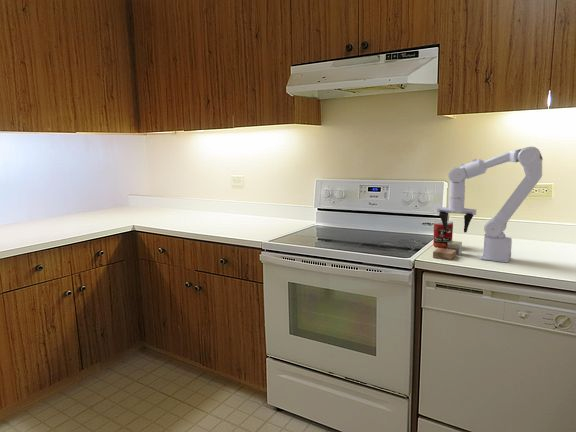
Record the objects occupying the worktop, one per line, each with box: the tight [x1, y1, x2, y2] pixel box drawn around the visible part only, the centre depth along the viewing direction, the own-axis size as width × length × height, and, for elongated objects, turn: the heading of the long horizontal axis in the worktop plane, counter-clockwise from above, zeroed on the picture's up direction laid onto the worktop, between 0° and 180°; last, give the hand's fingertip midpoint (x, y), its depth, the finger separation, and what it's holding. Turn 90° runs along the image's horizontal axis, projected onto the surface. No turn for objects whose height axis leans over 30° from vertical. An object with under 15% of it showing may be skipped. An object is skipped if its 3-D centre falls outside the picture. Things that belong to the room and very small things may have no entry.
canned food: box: [432, 219, 454, 249], centre depth 181 cm, size 8×8×11 cm
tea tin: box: [447, 240, 463, 256], centre depth 169 cm, size 5×5×5 cm
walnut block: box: [432, 247, 457, 261], centre depth 165 cm, size 7×7×2 cm
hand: (455, 231), depth 168 cm, fingers open, 7 cm apart
